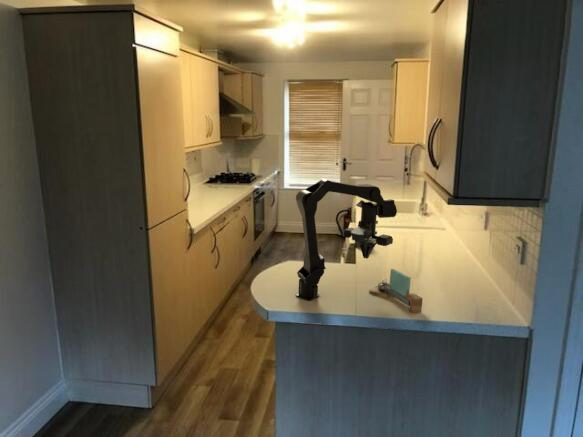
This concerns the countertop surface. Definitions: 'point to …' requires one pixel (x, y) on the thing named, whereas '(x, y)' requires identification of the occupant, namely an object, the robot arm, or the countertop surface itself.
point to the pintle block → (379, 292)
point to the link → (396, 286)
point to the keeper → (414, 303)
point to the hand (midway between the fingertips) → (365, 258)
